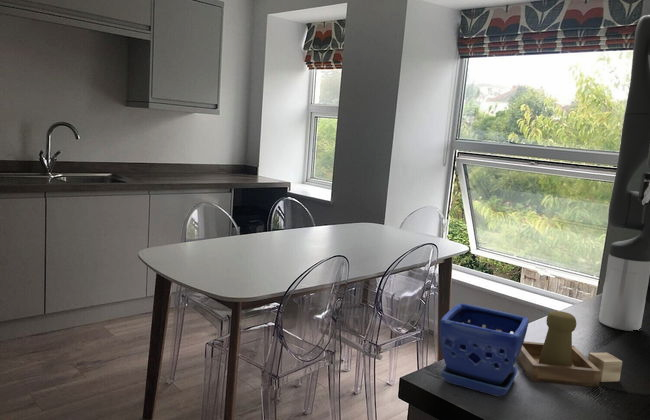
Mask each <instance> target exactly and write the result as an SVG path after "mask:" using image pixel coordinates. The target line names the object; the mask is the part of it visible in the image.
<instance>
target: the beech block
mask: <svg viewBox="0 0 650 420" xmlns="http://www.w3.org/2000/svg"><path fill="white" fill-rule="evenodd" d="M587 359H588V360H589V361H590V362H591V363H593V364H594V365H595V366H596V367H597V368H598V369H599V370H600V371H601V374H600V380H599V382H602V383H605V382H620V380H621V373H622V368H623V362H624V361H623V360H621V359H620V358H617V357H616V356H614V355H612V354H610V353H609V352H588V358H587Z"/></svg>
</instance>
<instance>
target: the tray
mask: <svg viewBox="0 0 650 420" xmlns="http://www.w3.org/2000/svg"><path fill="white" fill-rule="evenodd" d="M543 345H544V342H534V341H526V340H524V342H523V345H522V348H521V351H520V353H519V356H518V358H517V361H518V362H519V363H518V362H517V361H516V362H517V363H518V365H519V364H520V365H521V366H520V365H519V366H520V368H521V367H522V368H523V369H522V368H521V369H522V371H525V372H524V373H525V374H526V375H528V376H527V377H528V379H529V378H530V379H529V380H530V382H537V381H538V382H539V383H549V384H560V385H561V384H562V385H570V386H571V385H572V386H582V387H583V386H585V387H593V388H594V387H595V388H599V386H600V381H599V380H600V374H601V371H600V370H599V369H598V368H597V367H596V366H595V365H594V364H593V363H591V362H590V361H589V360H588V358H587V357H586V356H585V355H584V354H583V353H582V352H581V351H580V350H579V349H578V348H577V347H576V346H575V345H572V367H570V366H559V365H548V364H538V363H539V359H540V356H541V352H542V349H543Z"/></svg>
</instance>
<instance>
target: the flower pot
mask: <svg viewBox="0 0 650 420" xmlns="http://www.w3.org/2000/svg"><path fill="white" fill-rule="evenodd" d="M529 322H530V321H529V318H528V317H526V316H523V315H518V314H514V313H510V312H505V311H500V310H496V309H492V308H488V307H483V306H478V305H473V304H468V303H457V304H456V305H455V306H453V307H452V308H451V309H449V311H448V312H447V313H445V314H444V315H443V316H442V318H441V319H440V323H439V339H440V340H439V341H440V348H441V349H440V350H441V352H442V357H443V360H444V363H445V365H444V367H443V368H442V370H441V372H440V373H441V377H442V378H443V379H444V380H445V381H446V382H447V383H450V384H453V385H457V386H460V387H464V388H467V389H470V390H474V391H477V392H482V393H484V394H489V395H491V396H494V397H502V396H504V395H506V394H507V393H508V392H509V390H510V388H511V386H512V384H513V383H514V380H515V378H516V376H517V374H518V370H519V368H518V367H517V366H515V365H516V362H517V361H516V360H517V358H518V356H519V353H520V351H521V348H522V345H523V342H524V341H525V339H526V334H527V330H528V327H529ZM483 326H485V327H483ZM511 332H512V333H511Z"/></svg>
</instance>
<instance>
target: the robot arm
mask: <svg viewBox="0 0 650 420" xmlns="http://www.w3.org/2000/svg"><path fill="white" fill-rule="evenodd" d="M633 39H634V40H633V41H634V42H633V47H632V48H633V49H632V62H631V74H630V81H629V87H628V94H627V100H626V105H625V111H624V116H623V123H622V128H621V130H622V131H621V135H620V136H621V137H620V138H621V139H620V146H619V155H618V156H619V157H618V160H617V161H618V162H617V168H616V173H615V178H614V181H613V182H614V183H613V188H612V193H611V196H610V201H609V208H608V213H607V214H608V215H607V217H608V218H607V219H608V224H609V225H610V227H613V228H618V229H624V230H625V229H626V230H634V231H641V232H640V233H639V234H638V235H636V236H634V237H632V238H630V239H629V238H628V239H626V240H619V241H613V242H612V243H611V244H610V246H609V252H608V258H607V265H606V271H605V272H606V273H605V278H604V282H603V287H602V295H601V302H600V308H599V315H598V319H599V320H598V321H599V323H601V324H603V325H604V326H606V327H609V328H611V329H612V328H613V329H616V330H622V331H627V332H628V331H629V332H634V331H633V330H638V331H640V330H641V329H642V323H643V317H644V313H645V306H646V299H647V298H646V297H647V294H648V293H647V292H648V286H649V282H650V281H649V280H650V172H643V173H642V175H641V181H640V185H639V191H634V190H628V186H629V184H630V182H631V181H632V178H633V177H634V175H636V173H637V171H639V169H640V168H641V166H643V164H644V163H645V162H646V161H647V162H646V167H647V168H649V169H650V62H649V56H650V14H645V15H643V16H641V17H640V19H639V20H638V22H637V25H636V27H635V32H634V38H633ZM640 328H641V329H640ZM639 329H640V330H639Z"/></svg>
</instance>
